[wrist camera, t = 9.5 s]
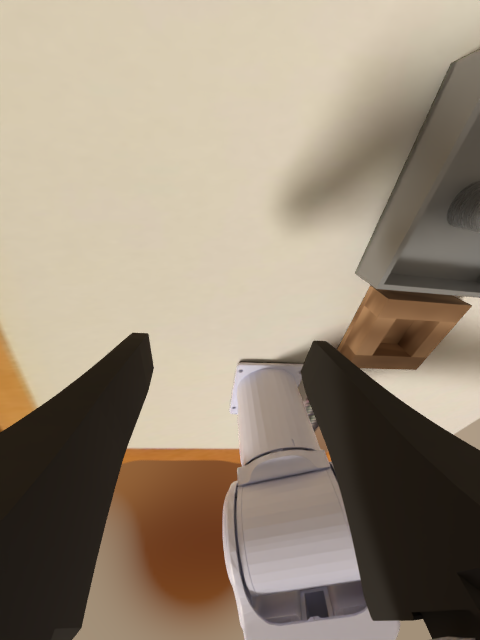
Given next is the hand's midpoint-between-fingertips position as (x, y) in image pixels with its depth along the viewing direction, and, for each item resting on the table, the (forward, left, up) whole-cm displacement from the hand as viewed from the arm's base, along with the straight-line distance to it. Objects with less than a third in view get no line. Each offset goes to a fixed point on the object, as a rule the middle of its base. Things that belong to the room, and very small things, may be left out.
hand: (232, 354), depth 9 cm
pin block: (-4, -17, -9) cm, 20 cm away
